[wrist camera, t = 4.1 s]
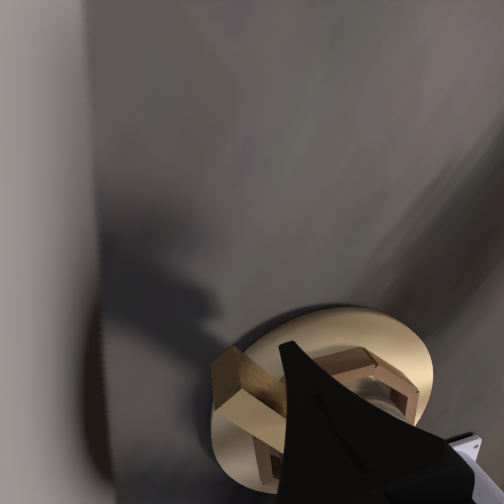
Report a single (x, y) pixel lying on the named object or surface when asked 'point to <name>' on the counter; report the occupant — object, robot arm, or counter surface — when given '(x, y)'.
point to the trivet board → (339, 367)
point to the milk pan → (270, 397)
